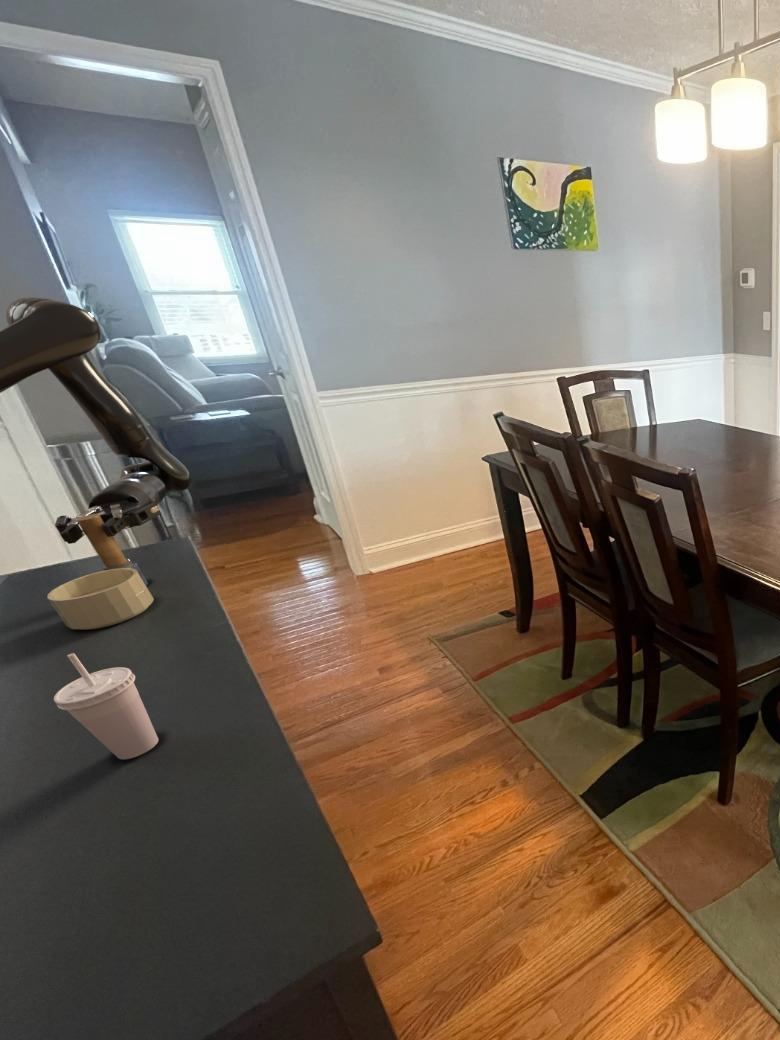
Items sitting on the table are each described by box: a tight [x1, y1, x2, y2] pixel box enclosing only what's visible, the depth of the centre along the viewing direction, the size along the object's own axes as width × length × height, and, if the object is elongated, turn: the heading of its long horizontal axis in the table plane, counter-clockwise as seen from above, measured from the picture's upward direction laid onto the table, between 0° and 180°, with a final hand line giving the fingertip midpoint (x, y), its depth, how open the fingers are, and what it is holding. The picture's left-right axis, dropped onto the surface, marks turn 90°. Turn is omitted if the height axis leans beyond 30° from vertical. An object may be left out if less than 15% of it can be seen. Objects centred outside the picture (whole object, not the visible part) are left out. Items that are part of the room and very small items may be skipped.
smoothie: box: [53, 652, 159, 760], centre depth 68 cm, size 6×6×14 cm
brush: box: [77, 514, 149, 586], centre depth 105 cm, size 5×5×14 cm
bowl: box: [46, 568, 155, 631], centre depth 98 cm, size 11×11×6 cm
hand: (87, 534), depth 100 cm, fingers open, 4 cm apart
